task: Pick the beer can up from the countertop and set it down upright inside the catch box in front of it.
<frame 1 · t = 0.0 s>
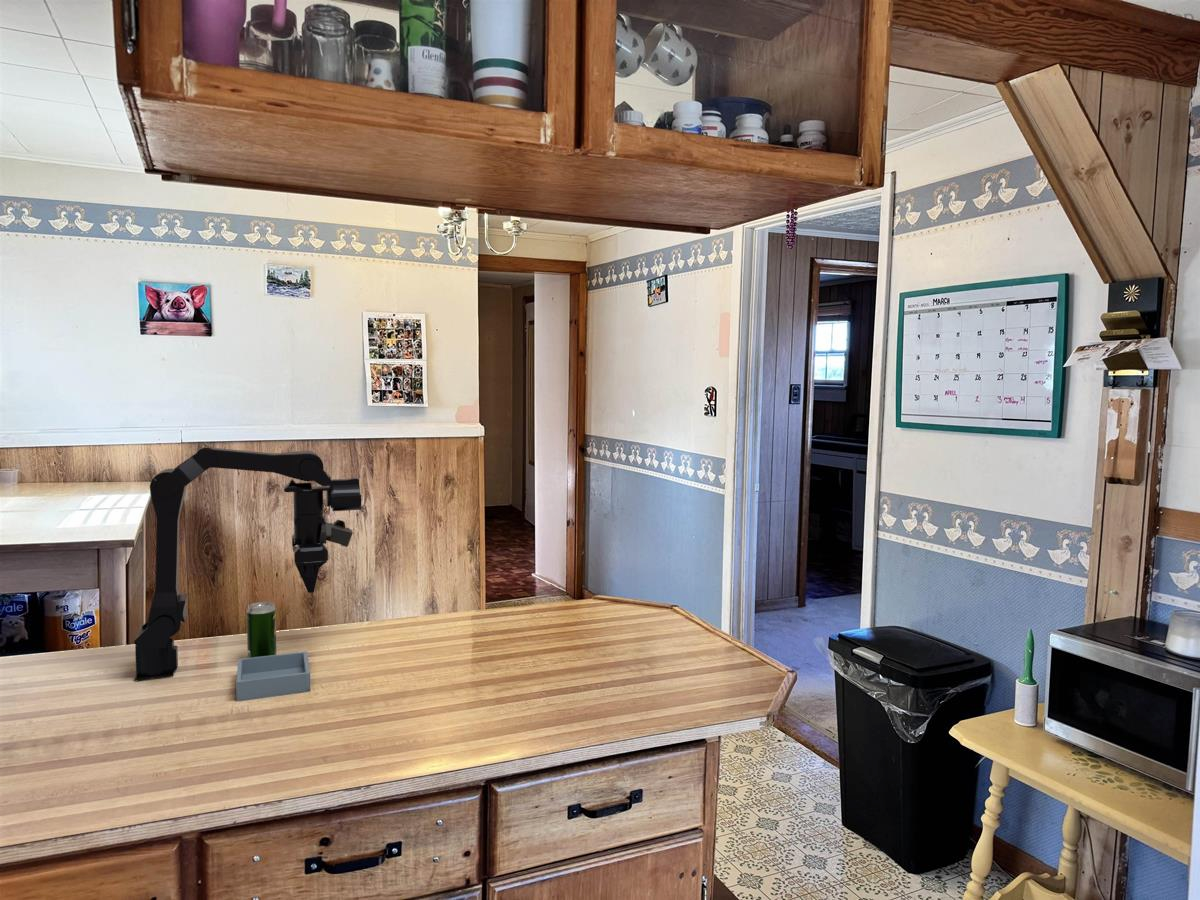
hand: (309, 586, 160), 15 cm above the counter, tool pointing down, fingers open, 9 cm apart
beer can: (262, 663, 157), on the counter
catch box: (273, 683, 146), on the counter
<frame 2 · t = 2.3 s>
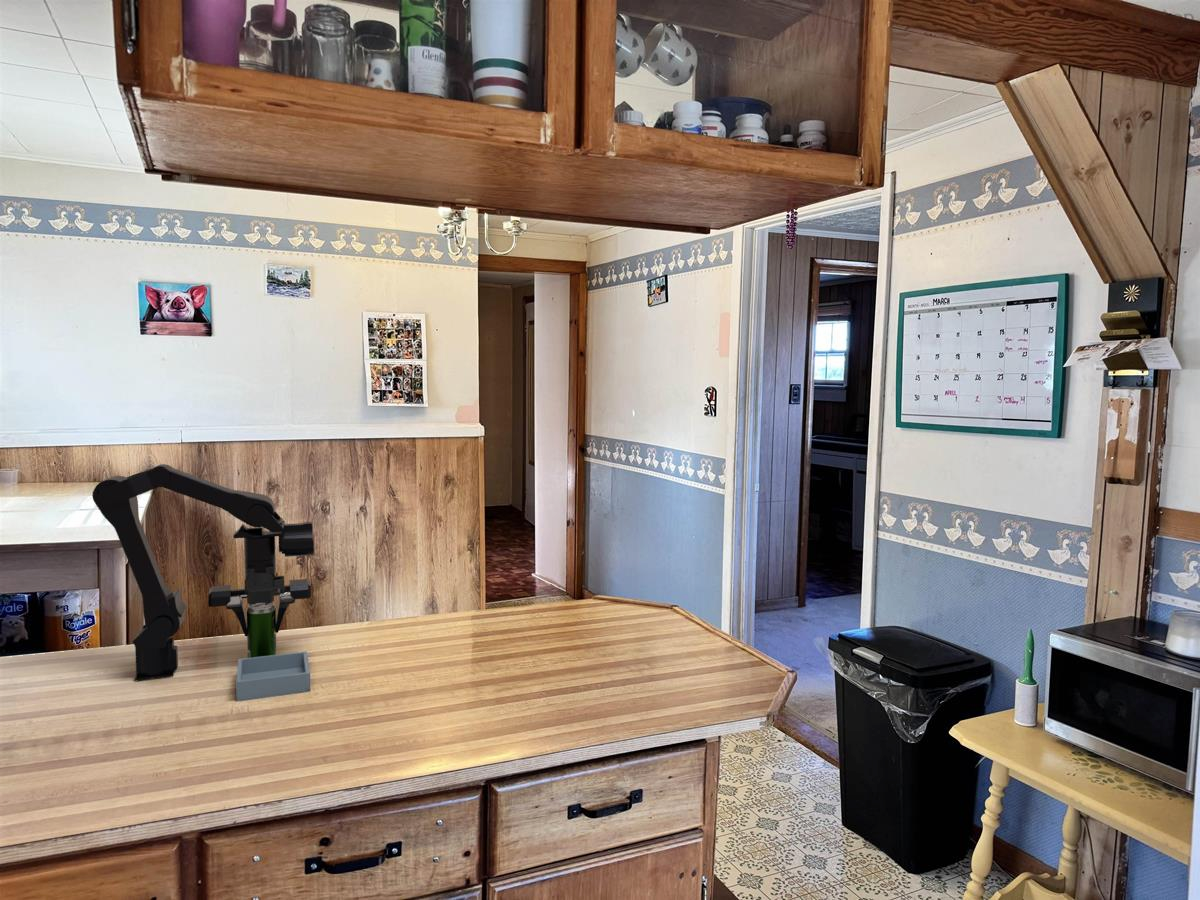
hand: (261, 633, 157), 6 cm above the counter, tool pointing down, fingers closed on beer can, 5 cm apart
beer can: (262, 663, 157), on the counter, touching gripper
when the fingers open (8 cm above the counter, at t = 7.1 s): beer can stays where it is, resting on catch box.
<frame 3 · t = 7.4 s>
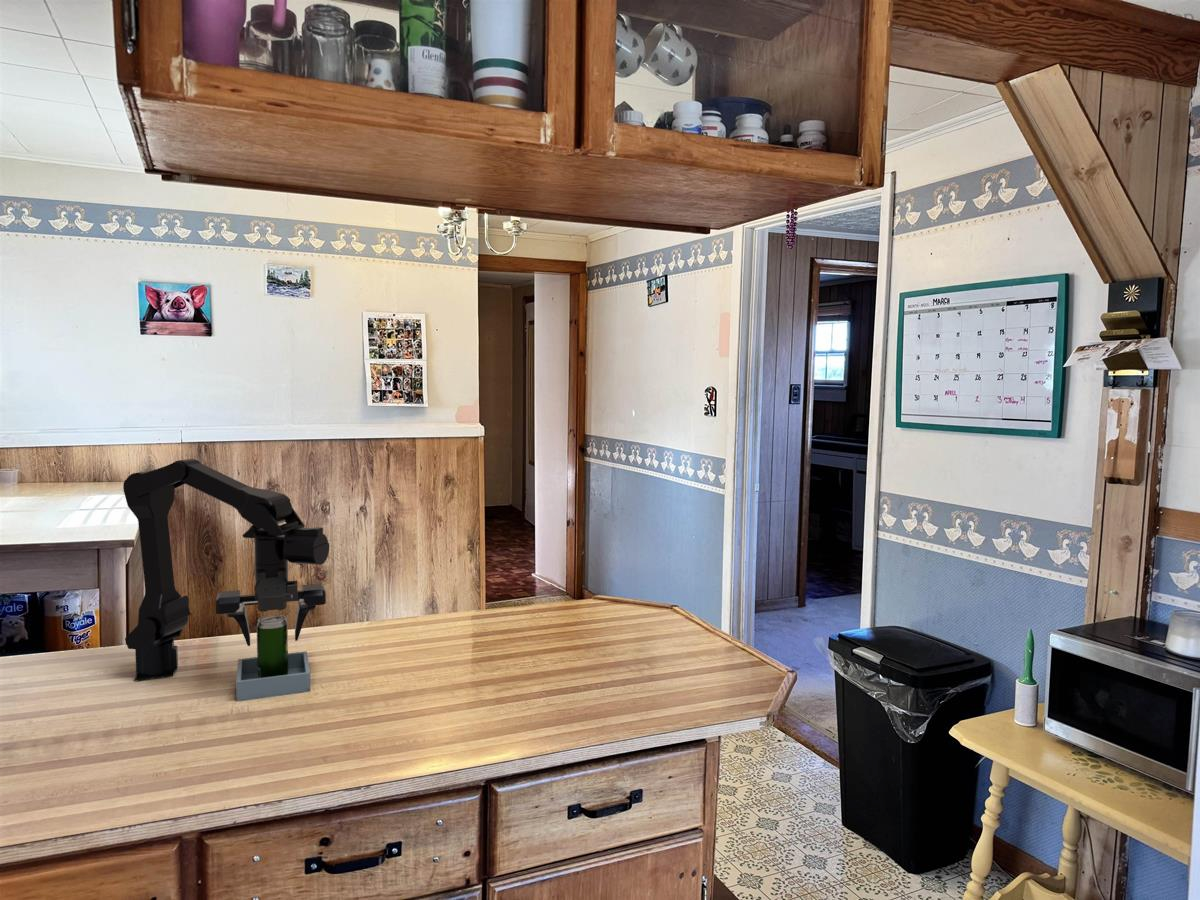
hand: (272, 642, 146), 8 cm above the counter, tool pointing down, fingers open, 8 cm apart
beer can: (273, 681, 146), resting on catch box
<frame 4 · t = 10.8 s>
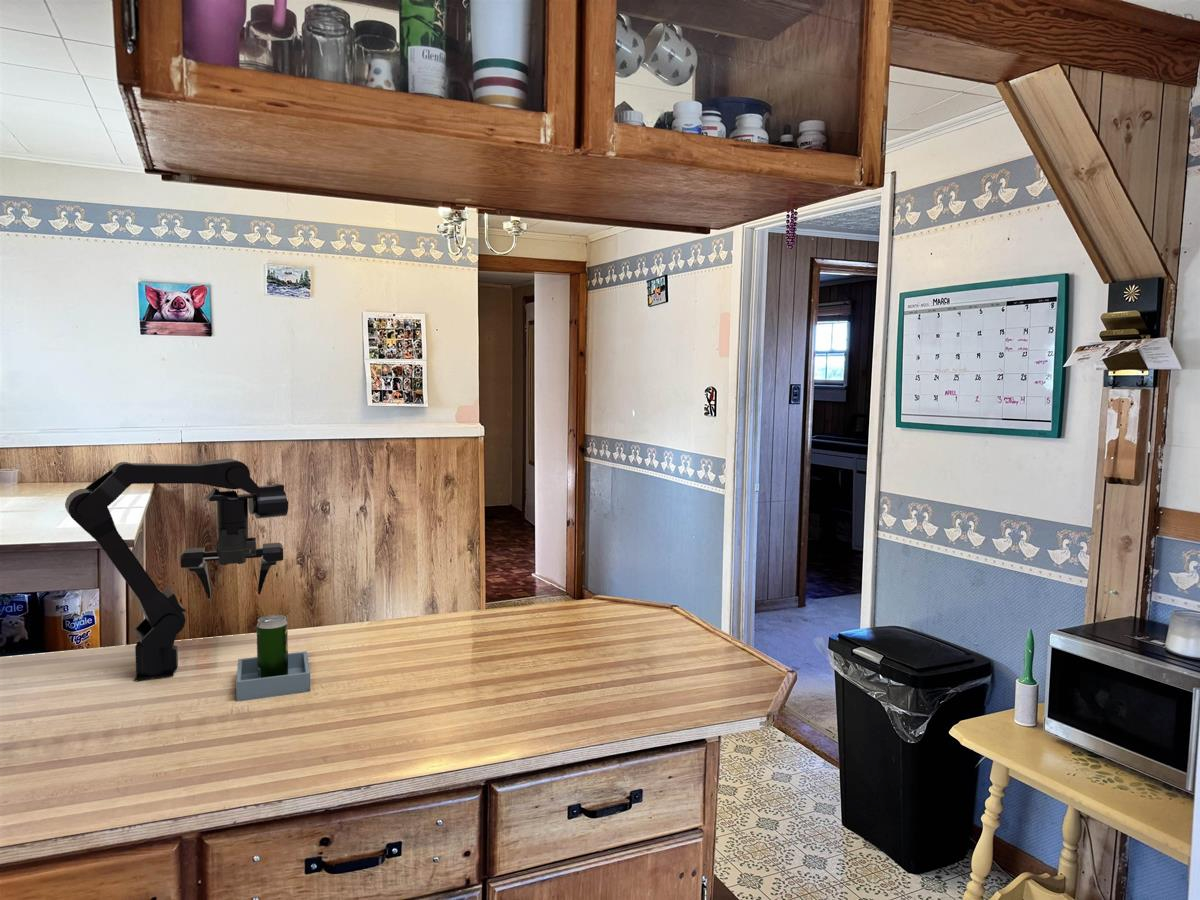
hand: (234, 596, 158), 13 cm above the counter, tool pointing down, fingers open, 9 cm apart
nothing on the counter moved.
at the end: beer can inside the target area on the catch box (0.1 cm from its centre), point 0.4 cm above the catch box's base; beer can tilted 0°; the gripper is holding nothing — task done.
